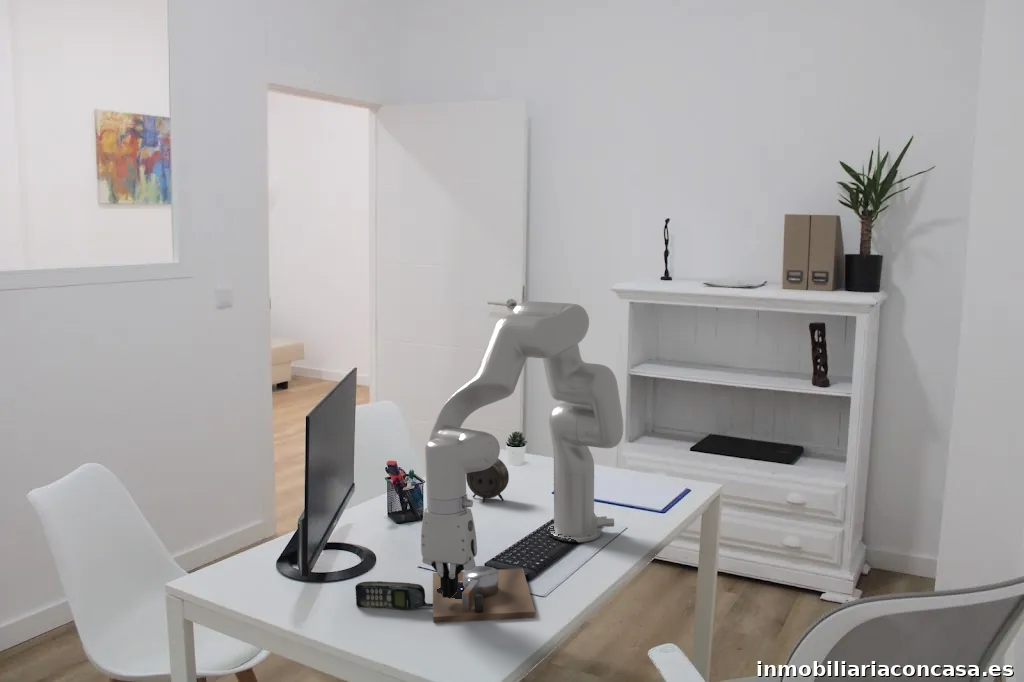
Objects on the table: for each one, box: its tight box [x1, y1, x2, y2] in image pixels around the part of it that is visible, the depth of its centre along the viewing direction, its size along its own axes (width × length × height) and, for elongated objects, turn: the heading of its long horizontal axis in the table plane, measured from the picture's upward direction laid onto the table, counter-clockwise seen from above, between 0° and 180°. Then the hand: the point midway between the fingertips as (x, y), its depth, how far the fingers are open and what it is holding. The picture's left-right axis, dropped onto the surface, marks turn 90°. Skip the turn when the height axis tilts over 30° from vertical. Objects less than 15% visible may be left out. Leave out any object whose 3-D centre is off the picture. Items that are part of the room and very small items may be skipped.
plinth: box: [432, 568, 536, 624], centre depth 176 cm, size 19×21×4 cm
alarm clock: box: [466, 458, 510, 504], centre depth 236 cm, size 11×5×16 cm, turn 69°
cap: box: [462, 565, 499, 611], centre depth 173 cm, size 14×7×4 cm, turn 165°
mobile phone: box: [354, 580, 433, 611], centre depth 172 cm, size 5×3×15 cm
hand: (449, 594), depth 171 cm, fingers closed
